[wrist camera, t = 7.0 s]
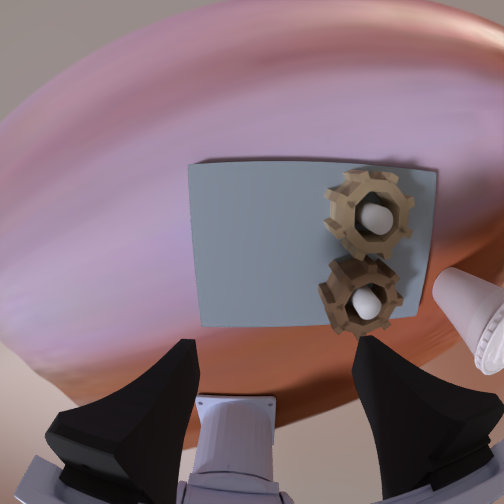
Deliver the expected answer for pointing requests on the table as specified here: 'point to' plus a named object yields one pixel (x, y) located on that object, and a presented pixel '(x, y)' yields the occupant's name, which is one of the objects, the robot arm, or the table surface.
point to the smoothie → (474, 315)
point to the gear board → (293, 240)
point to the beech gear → (344, 212)
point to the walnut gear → (351, 278)
